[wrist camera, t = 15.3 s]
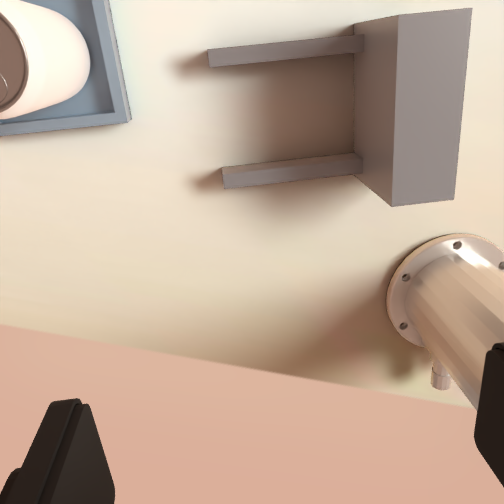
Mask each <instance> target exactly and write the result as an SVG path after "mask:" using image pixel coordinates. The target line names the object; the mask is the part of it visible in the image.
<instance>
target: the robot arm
mask: <svg viewBox="0 0 504 504" xmlns="http://www.w3.org/2000/svg"><path fill="white" fill-rule="evenodd" d="M386 304H387V312H388V315H389V318H390V320H391V322H392V324H393V325H394V327H395V328H396V330H397V331H398V332H399V334H400V335H401V336H402V337H404V338H405V339H406V340H407V341H409V342H411V343H413V344H415V345H417V346H420V347H424V348H427V349H428V351H429V352H430V359H431V361H432V362H433V367H432V374H431V385H432V386H433V387H434V388H436V389H439V390H447V389H449V388H450V386H451V378H453V380H454V381H455V382H456V384H457V385H458V386H459V388H460V389H461V390H462V392H463V393H464V394H465V396H466V397H467V398H468V400H469V401H470V402H471V404H472V405H473V406H474V408H475V409H476V410H477V418H476V424H475V431H474V439H475V443H476V446H477V448H478V450H479V452H480V453H481V455H482V456H483V457H484V459H485V460H486V462H487V463H488V465H489V466H490V468H491V469H492V471H493V472H494V474H495V475H496V476H497V478H498V479H499V481H500V482H501V484H502V485H503V487H504V252H503V251H502V250H501V249H500V248H498V247H497V246H496V245H495V244H493V243H492V242H490V241H488V240H487V239H485V238H482V237H479V236H476V235H471V234H451V235H446V236H442V237H439V238H436V239H434V240H431V241H429V242H427V243H425V244H423V245H422V246H420V247H419V248H417V249H416V250H414V251H413V252H412V253H411V254H410V255H409V256H408V257H406V258H405V259H404V261H403V262H402V263H401V264H400V266H399V267H398V268H397V270H396V271H395V273H394V275H393V277H392V279H391V281H390V284H389V287H388V291H387V298H386ZM114 500H115V488H114V483H113V480H112V476H111V473H110V470H109V467H108V463H107V460H106V457H105V454H104V450H103V447H102V444H101V441H100V437H99V434H98V431H97V428H96V425H95V421H94V418H93V415H92V412H91V408H90V406H89V405H88V404H82V403H81V401H80V399H77V398H76V399H68V400H61V401H54V402H52V403H51V404H50V405H49V407H48V409H47V412H46V414H45V416H44V418H43V420H42V423H41V425H40V427H39V429H38V431H37V434H36V436H35V438H34V440H33V443H32V445H31V447H30V449H29V451H28V454H27V456H26V458H25V460H24V463H23V465H22V467H21V468H17V469H15V470H14V471H13V472H11V474H10V476H9V477H8V479H7V481H6V483H5V485H4V487H3V490H2V491H1V494H0V504H114Z"/></svg>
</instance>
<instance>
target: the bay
mask: <svg viewBox="0 0 504 504" xmlns="http://www.w3.org/2000/svg"><path fill="white" fill-rule="evenodd" d="M471 16H472V8H464V9H453V10H443V11H433V12H423V13H413V14H403V15H396V16H390V17H385V18H380V19H375V20H370V21H365V22H360V23H355V24H354V35H348V36H338V37H328V38H318V39H308V40H298V41H288V42H278V43H268V44H258V45H248V46H238V47H228V48H218V49H208V50H207V51H208V59H209V67H219V66H229V65H239V64H249V63H258V62H268V61H278V60H288V59H298V58H308V57H318V56H327V55H337V54H347V53H354V153H346V154H337V155H328V156H319V157H310V158H301V159H292V160H283V161H274V162H265V163H256V164H247V165H238V166H229V167H222V175H223V184H224V189H228V188H237V187H246V186H255V185H264V184H272V183H281V182H290V181H299V180H308V179H316V178H325V177H334V176H343V175H352V174H354V176H355V177H357V178H358V179H359V180H360V181H361V182H363V183H364V184H365V185H366V186H367V187H368V188H370V189H371V190H372V191H373V192H374V193H376V194H377V195H378V196H379V197H380V198H382V199H383V200H384V201H385V202H386V203H388V204H389V205H390V206H391V207H395V206H404V205H412V204H421V203H429V202H438V201H446V200H454V194H455V184H456V173H457V163H458V152H459V142H460V131H461V121H462V110H463V100H464V90H465V79H466V69H467V58H468V48H469V37H470V27H471Z"/></svg>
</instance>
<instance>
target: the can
mask: <svg viewBox="0 0 504 504" xmlns="http://www.w3.org/2000/svg"><path fill="white" fill-rule="evenodd" d="M89 71H90V55H89V50H88V47H87V44H86V42H85V40H84V38H83V36H82V34H81V33H80V31H79V30H78V29H77V27H76V26H75V25H74V24H73V23H72V22H71V21H70V20H68V19H67V18H66V17H64V16H63V15H61V14H59V13H58V12H56V11H53V10H50V9H48V8H44V7H41V6H38V5H34V4H31V3H27V2H24V1H20V0H0V119H9V118H13V117H17V116H20V115H24V114H27V113H30V112H33V111H36V110H39V109H42V108H45V107H48V106H51V105H54V104H57V103H60V102H63V101H65V100H67V99H69V98H71V97H73V96H74V95H75V94H77V93H78V92H79V91H80V90H81V89H82V88H83V86H84V85H85V83H86V81H87V78H88V75H89Z"/></svg>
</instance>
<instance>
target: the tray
mask: <svg viewBox="0 0 504 504" xmlns="http://www.w3.org/2000/svg"><path fill="white" fill-rule="evenodd" d="M20 1H24V2H27V3H31V4H34V5H38V6H41V7H44V8H48V9H50V10H53V11H56V12H58V13H59V14H61V15H63V16H64V17H66V18H67V19H68V20H70V21H71V22H72V23H73V24H74V25H75V26H76V27H77V29H78V30H79V31H80V33H81V34H82V36H83V38H84V40H85V42H86V44H87V47H88V50H89V55H90V71H89V75H88V78H87V81H86V83H85V85H84V86H83V88H82V89H81V90H80V91H79V92H78V93H77V94H75V95H74V96H73V97H71V98H69V99H67V100H65V101H63V102H60V103H57V104H54V105H51V106H48V107H45V108H42V109H39V110H36V111H33V112H30V113H27V114H24V115H20V116H17V117H13V118H9V119H0V136H5V135H15V134H24V133H34V132H43V131H53V130H62V129H72V128H81V127H90V126H100V125H109V124H119V123H128V122H129V121H130V120H131V119H132V118H131V113H130V107H129V102H128V97H127V92H126V87H125V82H124V76H123V71H122V66H121V61H120V56H119V51H118V46H117V40H116V35H115V30H114V25H113V20H112V15H111V9H110V4H109V0H20Z"/></svg>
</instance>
